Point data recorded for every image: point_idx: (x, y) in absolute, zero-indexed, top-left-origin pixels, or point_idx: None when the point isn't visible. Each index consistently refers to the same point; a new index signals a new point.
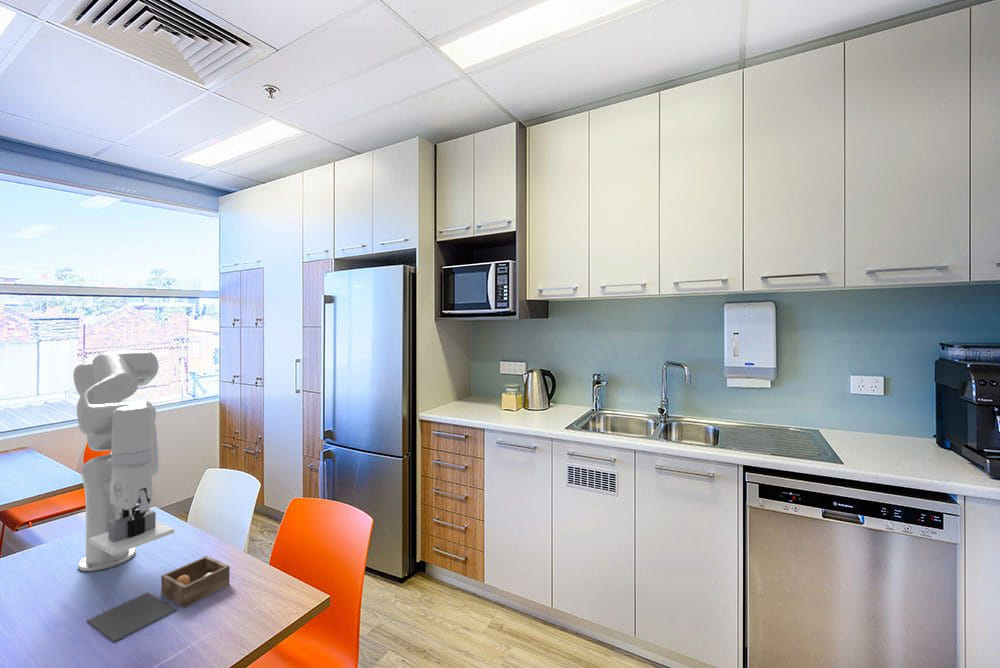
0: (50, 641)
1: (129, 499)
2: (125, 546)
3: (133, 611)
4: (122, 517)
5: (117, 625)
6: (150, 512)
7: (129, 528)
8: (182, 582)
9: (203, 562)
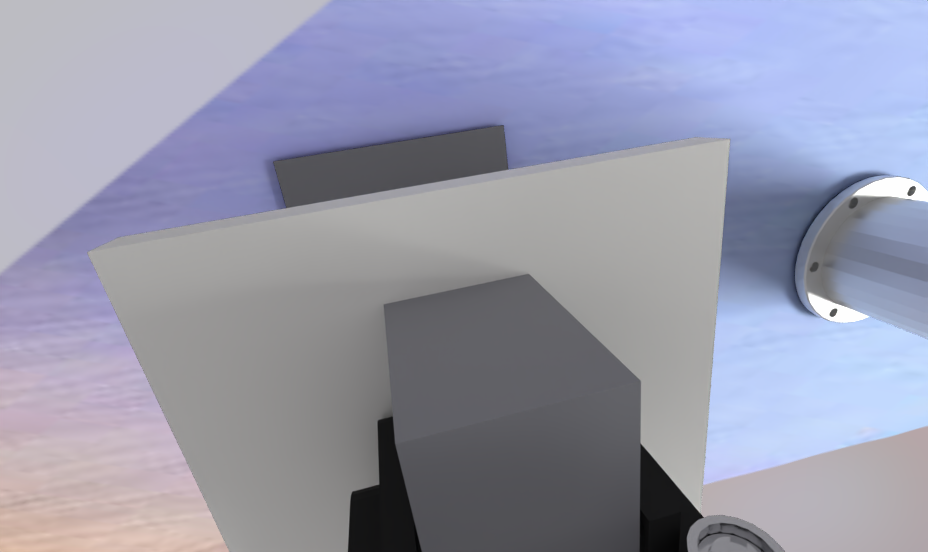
0: (476, 14)
1: None
2: (146, 371)
3: None
4: (654, 534)
5: (376, 189)
6: None
7: (380, 503)
8: None
9: None
